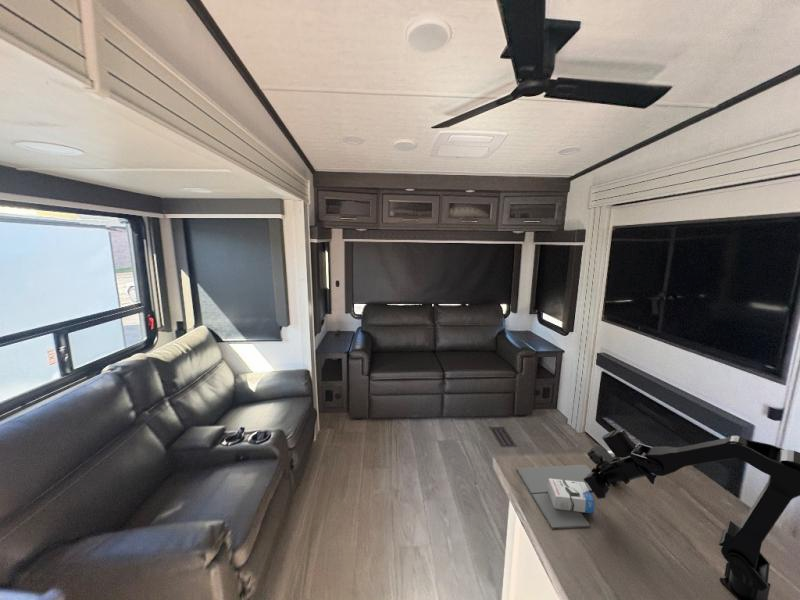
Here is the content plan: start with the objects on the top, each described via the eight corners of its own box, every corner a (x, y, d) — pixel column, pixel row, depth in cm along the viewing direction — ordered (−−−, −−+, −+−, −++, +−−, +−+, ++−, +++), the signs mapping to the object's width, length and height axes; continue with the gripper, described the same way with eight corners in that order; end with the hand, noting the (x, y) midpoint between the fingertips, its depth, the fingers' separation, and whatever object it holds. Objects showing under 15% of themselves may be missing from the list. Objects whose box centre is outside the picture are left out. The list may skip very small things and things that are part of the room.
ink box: (595, 501, 97) (555, 496, 99) (593, 514, 98) (554, 509, 100) (584, 481, 105) (547, 477, 108) (583, 493, 106) (547, 489, 108)
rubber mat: (639, 524, 95) (640, 522, 95) (551, 528, 94) (552, 527, 94) (585, 466, 121) (586, 464, 121) (516, 469, 119) (516, 467, 119)
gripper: (617, 432, 102) (580, 445, 113) (595, 455, 91) (555, 468, 102) (644, 466, 97) (602, 477, 108) (623, 494, 86) (578, 504, 97)
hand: (584, 480), depth 104 cm, fingers closed
